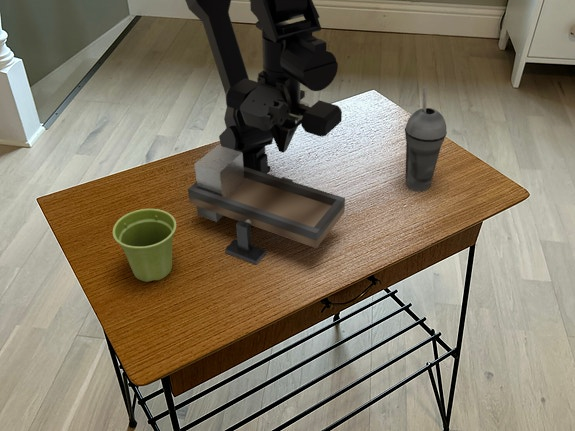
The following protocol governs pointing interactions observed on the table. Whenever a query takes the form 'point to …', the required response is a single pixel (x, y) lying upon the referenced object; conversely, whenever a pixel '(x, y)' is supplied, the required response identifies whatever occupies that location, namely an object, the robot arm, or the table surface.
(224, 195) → the steel rider
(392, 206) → the table surface
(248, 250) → the stand
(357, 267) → the table surface
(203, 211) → the grey tray
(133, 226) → the plant pot
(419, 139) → the beverage cup
